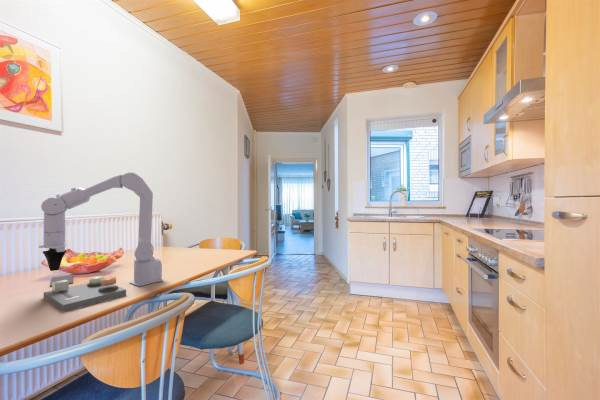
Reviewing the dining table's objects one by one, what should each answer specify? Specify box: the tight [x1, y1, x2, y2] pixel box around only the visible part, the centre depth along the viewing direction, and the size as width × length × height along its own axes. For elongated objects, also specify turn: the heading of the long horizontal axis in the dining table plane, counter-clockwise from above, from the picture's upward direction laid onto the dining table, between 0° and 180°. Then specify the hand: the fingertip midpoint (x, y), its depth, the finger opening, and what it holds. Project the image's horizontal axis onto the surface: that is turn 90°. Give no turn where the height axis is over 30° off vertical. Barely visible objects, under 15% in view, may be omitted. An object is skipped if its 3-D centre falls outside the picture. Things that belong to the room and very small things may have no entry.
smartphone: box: [49, 274, 74, 288], centre depth 111 cm, size 7×1×15 cm
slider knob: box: [51, 280, 70, 293], centre depth 92 cm, size 4×3×3 cm
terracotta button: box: [101, 276, 117, 286], centre depth 94 cm, size 4×4×2 cm
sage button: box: [88, 275, 105, 284], centre depth 100 cm, size 4×4×2 cm
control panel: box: [43, 282, 127, 313], centre depth 93 cm, size 17×20×3 cm
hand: (54, 270), depth 96 cm, fingers closed
